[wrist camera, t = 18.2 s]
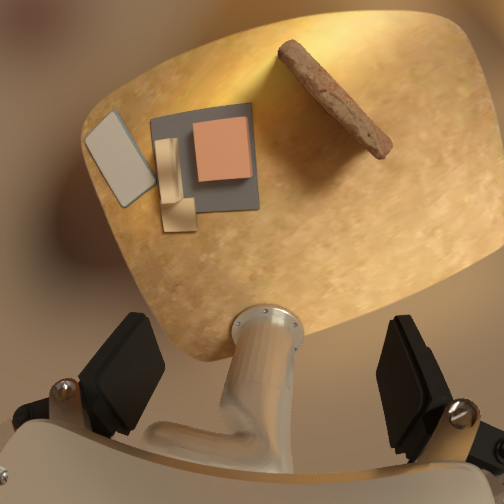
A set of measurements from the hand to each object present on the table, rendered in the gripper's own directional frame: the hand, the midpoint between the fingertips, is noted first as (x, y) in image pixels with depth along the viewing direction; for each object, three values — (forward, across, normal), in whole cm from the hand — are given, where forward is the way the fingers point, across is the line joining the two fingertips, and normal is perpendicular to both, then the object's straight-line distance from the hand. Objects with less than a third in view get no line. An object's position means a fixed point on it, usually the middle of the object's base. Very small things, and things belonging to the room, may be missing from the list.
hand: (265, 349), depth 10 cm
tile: (+28, +8, -3) cm, 30 cm away
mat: (+30, +12, -6) cm, 33 cm away
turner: (+30, +16, -2) cm, 34 cm away
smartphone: (+31, +26, -8) cm, 41 cm away
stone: (+31, -6, -13) cm, 34 cm away
